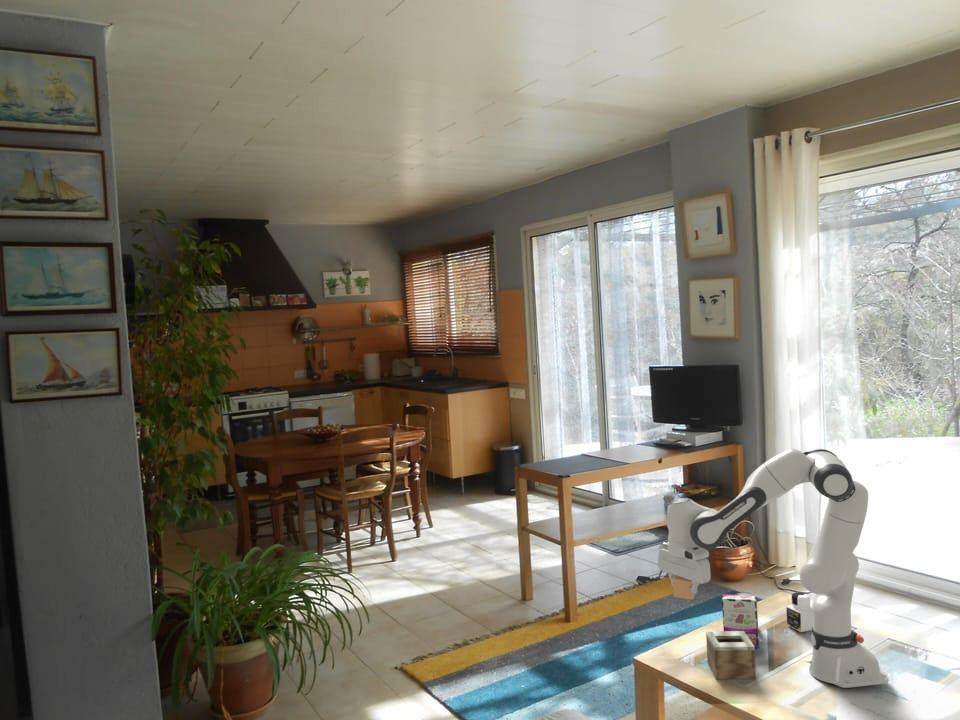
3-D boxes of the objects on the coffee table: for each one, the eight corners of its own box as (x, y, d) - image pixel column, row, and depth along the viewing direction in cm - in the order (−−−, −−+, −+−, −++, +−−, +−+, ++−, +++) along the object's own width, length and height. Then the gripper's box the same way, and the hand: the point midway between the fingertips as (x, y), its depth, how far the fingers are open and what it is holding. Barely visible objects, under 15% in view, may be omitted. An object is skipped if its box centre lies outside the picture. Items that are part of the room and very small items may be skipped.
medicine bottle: (786, 625, 267) (785, 592, 266) (803, 622, 269) (801, 589, 268) (800, 632, 260) (799, 598, 259) (817, 629, 262) (816, 595, 262)
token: (694, 596, 244) (694, 578, 243) (692, 599, 241) (691, 581, 241) (676, 594, 247) (676, 576, 247) (674, 597, 244) (673, 578, 244)
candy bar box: (758, 642, 253) (756, 595, 253) (759, 649, 249) (756, 600, 248) (724, 640, 257) (721, 593, 257) (723, 646, 252) (721, 598, 252)
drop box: (745, 661, 240) (744, 631, 240) (755, 678, 228) (754, 646, 228) (707, 662, 241) (706, 631, 241) (715, 679, 229) (714, 647, 229)
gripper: (652, 543, 251) (654, 583, 251) (698, 556, 233) (700, 600, 234) (666, 539, 254) (668, 579, 254) (712, 552, 236) (714, 595, 237)
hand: (684, 589), depth 244 cm, fingers closed on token, 7 cm apart
